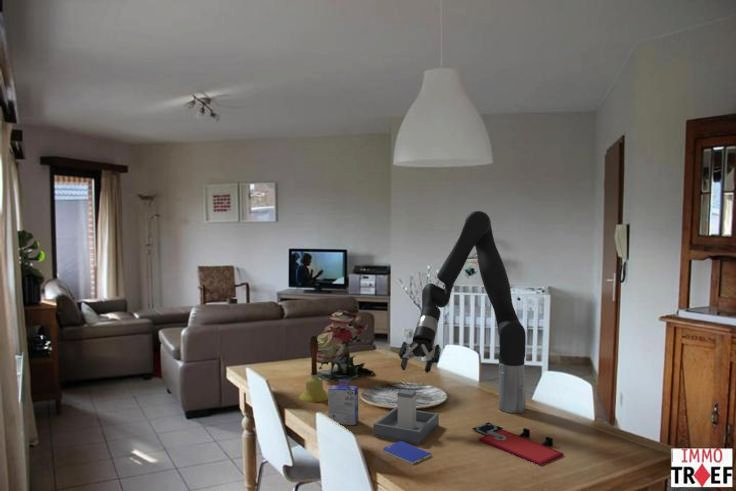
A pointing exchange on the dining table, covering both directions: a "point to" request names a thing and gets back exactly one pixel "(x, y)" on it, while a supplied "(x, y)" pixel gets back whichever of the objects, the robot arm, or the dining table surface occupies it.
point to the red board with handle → (518, 444)
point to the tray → (390, 429)
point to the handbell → (314, 378)
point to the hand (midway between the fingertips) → (414, 370)
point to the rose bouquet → (340, 347)
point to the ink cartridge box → (343, 403)
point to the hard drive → (406, 452)
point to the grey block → (407, 409)
